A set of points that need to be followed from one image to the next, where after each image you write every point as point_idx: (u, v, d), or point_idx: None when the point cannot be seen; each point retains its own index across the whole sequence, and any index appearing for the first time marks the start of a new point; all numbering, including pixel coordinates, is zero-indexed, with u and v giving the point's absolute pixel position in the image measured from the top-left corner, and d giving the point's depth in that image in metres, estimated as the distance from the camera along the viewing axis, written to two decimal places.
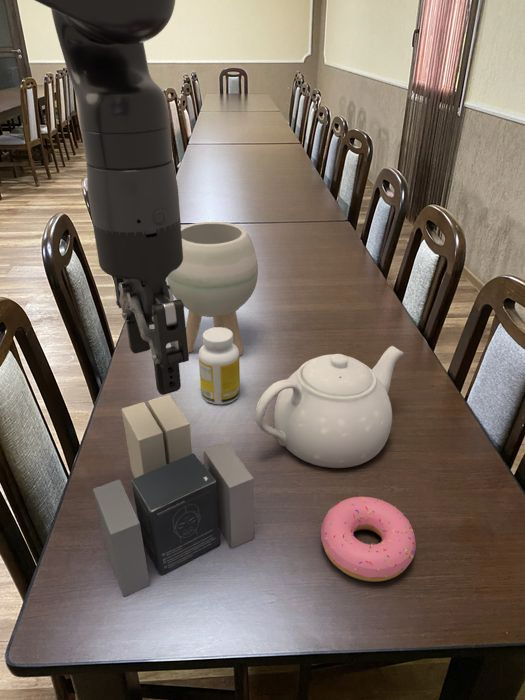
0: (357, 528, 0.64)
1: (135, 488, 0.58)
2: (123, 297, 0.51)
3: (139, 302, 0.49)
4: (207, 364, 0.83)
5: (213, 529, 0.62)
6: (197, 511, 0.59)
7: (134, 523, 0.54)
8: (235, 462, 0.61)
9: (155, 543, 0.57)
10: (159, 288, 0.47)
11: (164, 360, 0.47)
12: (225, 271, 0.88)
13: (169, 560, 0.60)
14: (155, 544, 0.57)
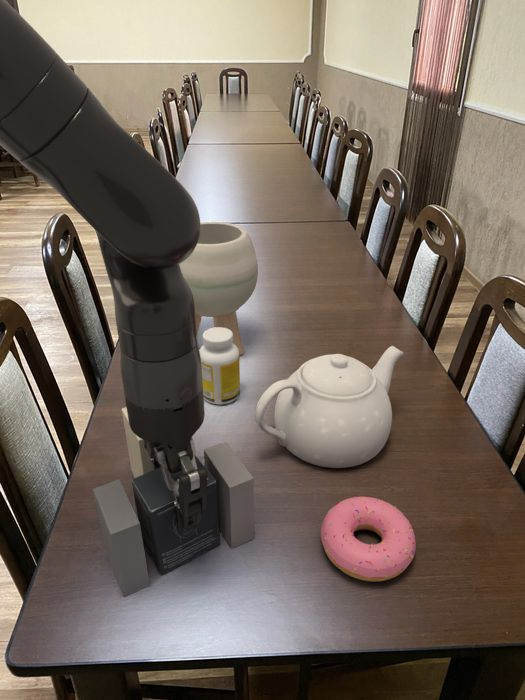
0: (357, 528, 0.64)
1: (135, 488, 0.58)
2: (150, 446, 0.56)
3: (165, 456, 0.54)
4: (207, 363, 0.83)
5: (213, 529, 0.62)
6: (197, 511, 0.59)
7: (134, 523, 0.54)
8: (235, 462, 0.61)
9: (155, 543, 0.57)
10: (184, 448, 0.52)
11: (185, 513, 0.53)
12: (225, 271, 0.88)
13: (169, 560, 0.60)
14: (155, 544, 0.57)
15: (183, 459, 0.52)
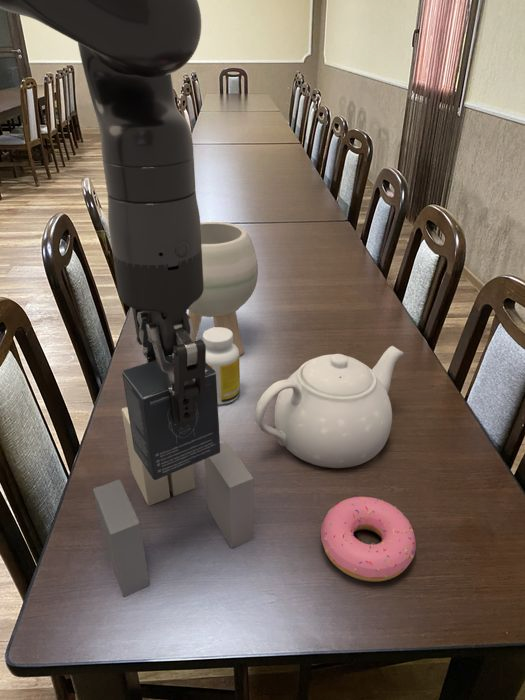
0: (357, 528, 0.64)
1: (126, 379, 0.52)
2: (142, 327, 0.50)
3: (159, 333, 0.48)
4: (207, 363, 0.83)
5: (212, 432, 0.56)
6: (195, 407, 0.53)
7: (134, 523, 0.54)
8: (235, 462, 0.61)
9: (148, 439, 0.51)
10: (180, 320, 0.46)
11: (181, 396, 0.47)
12: (225, 271, 0.88)
13: (164, 462, 0.54)
14: (148, 441, 0.51)
15: (179, 332, 0.46)
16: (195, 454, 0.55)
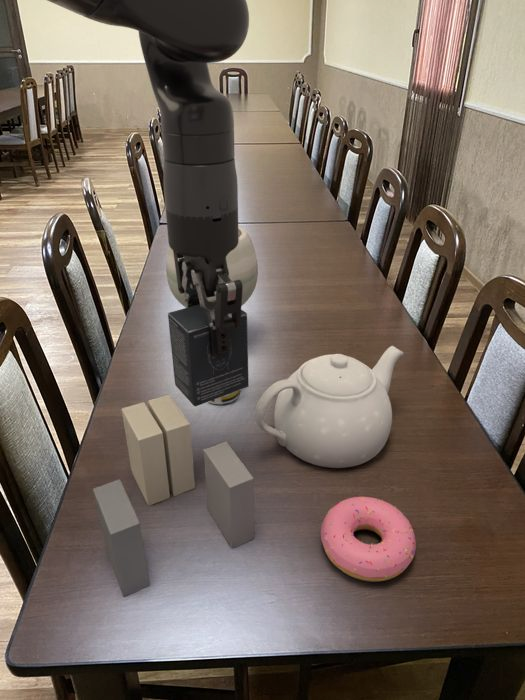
0: (357, 528, 0.64)
1: (172, 319, 0.62)
2: (186, 274, 0.60)
3: (202, 277, 0.58)
4: None
5: (243, 367, 0.66)
6: None
7: (134, 523, 0.54)
8: (235, 462, 0.61)
9: (190, 369, 0.61)
10: (220, 265, 0.56)
11: (221, 327, 0.57)
12: None
13: (203, 391, 0.64)
14: (190, 370, 0.61)
15: (220, 274, 0.56)
16: (228, 386, 0.66)
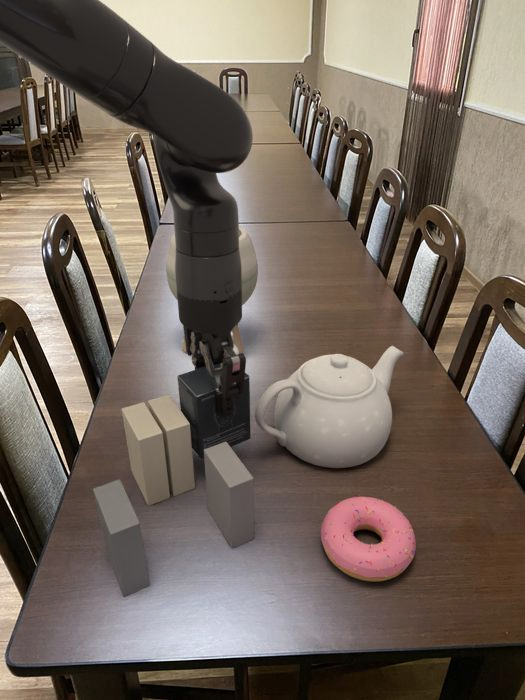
0: (357, 528, 0.64)
1: (181, 382, 0.68)
2: (195, 343, 0.66)
3: (209, 348, 0.64)
4: None
5: (245, 422, 0.72)
6: None
7: (134, 523, 0.54)
8: (235, 462, 0.61)
9: (198, 428, 0.68)
10: (226, 339, 0.62)
11: (226, 394, 0.63)
12: None
13: (209, 446, 0.70)
14: (198, 429, 0.68)
15: (225, 347, 0.62)
16: (232, 439, 0.72)
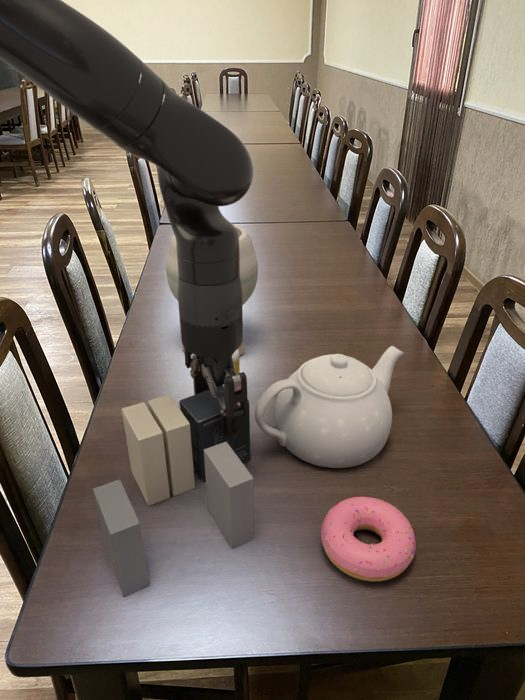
0: (357, 528, 0.64)
1: (183, 407, 0.70)
2: (196, 365, 0.68)
3: (211, 371, 0.66)
4: None
5: (245, 444, 0.74)
6: None
7: (134, 523, 0.54)
8: (235, 462, 0.61)
9: (200, 451, 0.70)
10: (227, 362, 0.64)
11: (231, 416, 0.64)
12: None
13: None
14: (200, 452, 0.70)
15: (226, 369, 0.64)
16: None
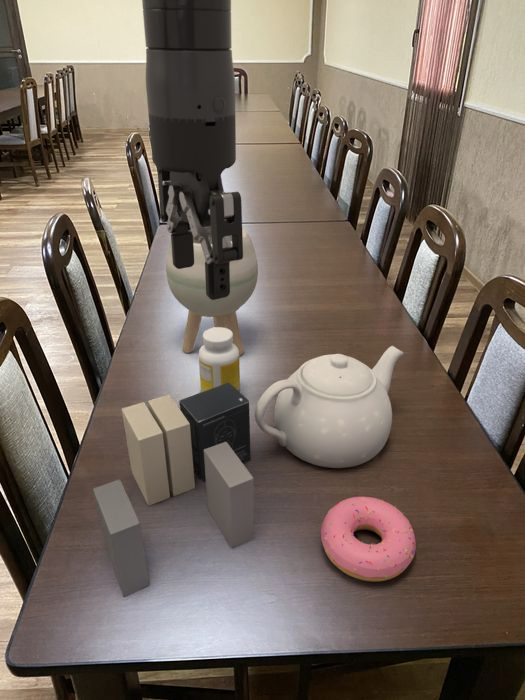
0: (357, 528, 0.64)
1: (183, 407, 0.70)
2: (173, 201, 0.51)
3: (192, 201, 0.48)
4: (207, 363, 0.83)
5: (245, 444, 0.74)
6: (234, 427, 0.71)
7: (134, 523, 0.54)
8: (235, 462, 0.61)
9: (200, 451, 0.70)
10: (214, 183, 0.47)
11: (220, 255, 0.46)
12: None
13: None
14: (200, 452, 0.70)
15: (213, 190, 0.46)
16: None
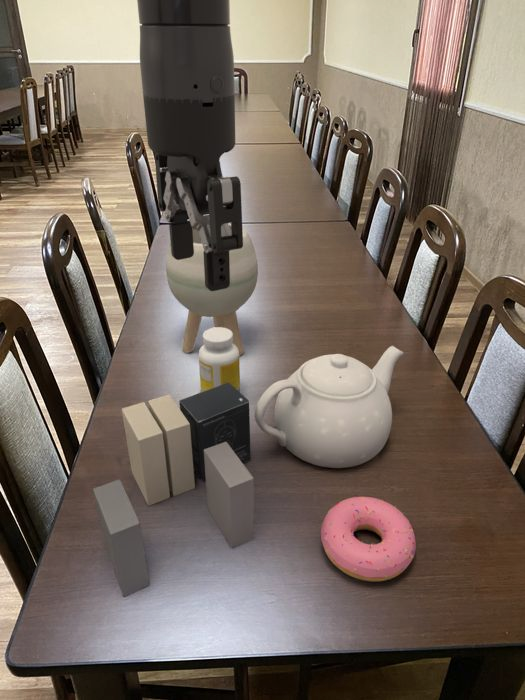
0: (357, 528, 0.64)
1: (183, 407, 0.70)
2: (170, 187, 0.48)
3: (190, 187, 0.46)
4: (207, 363, 0.83)
5: (245, 444, 0.74)
6: (234, 427, 0.71)
7: (134, 523, 0.54)
8: (235, 462, 0.61)
9: (200, 451, 0.70)
10: (213, 168, 0.44)
11: (218, 243, 0.44)
12: None
13: None
14: (200, 452, 0.70)
15: (211, 176, 0.44)
16: None
